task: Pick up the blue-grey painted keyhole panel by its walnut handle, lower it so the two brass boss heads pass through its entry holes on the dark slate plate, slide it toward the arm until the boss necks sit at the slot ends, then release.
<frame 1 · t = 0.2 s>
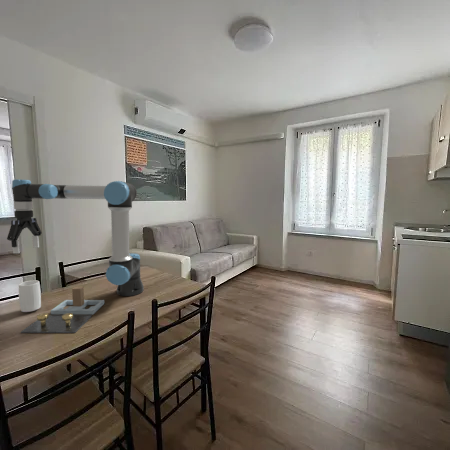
hand: (26, 250, 129), 28 cm above the table, fingers open, 13 cm apart
panel: (78, 308, 124), on the table
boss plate: (58, 324, 109), on the table
cup: (31, 310, 121), on the table
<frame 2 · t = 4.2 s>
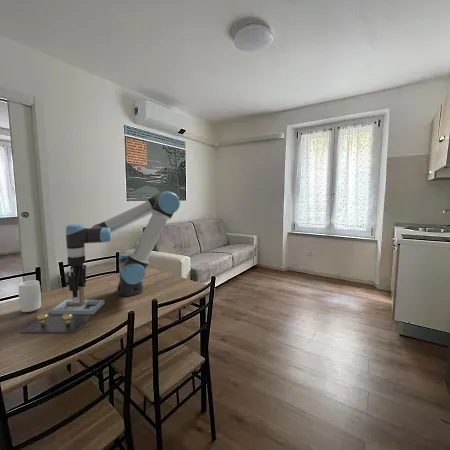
hand: (78, 301, 124), 4 cm above the table, fingers closed on panel, 3 cm apart
panel: (79, 308, 124), on the table, touching gripper
everything else where it was.
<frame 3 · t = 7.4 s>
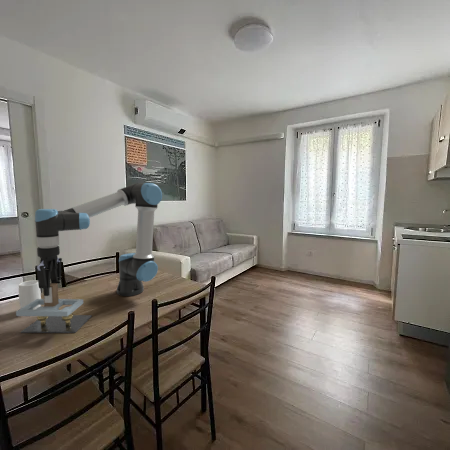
hand: (51, 300, 104), 13 cm above the table, fingers closed on panel, 3 cm apart
panel: (51, 309, 104), point 9 cm above the table, touching gripper
everything else where it was.
when the fingers open (5 cm above the table, at t = 11.0 s): panel stays where it is, resting on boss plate.
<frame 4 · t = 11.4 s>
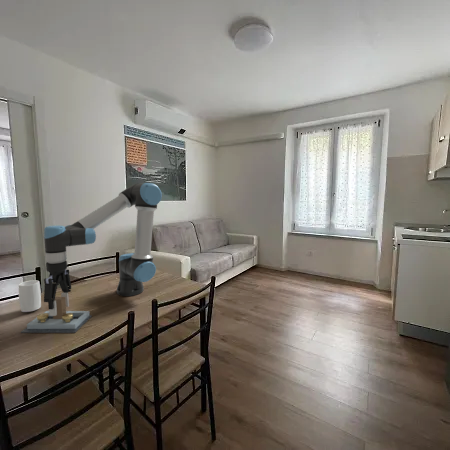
hand: (59, 310, 109), 6 cm above the table, fingers open, 8 cm apart
panel: (60, 321, 110), point 1 cm above the table, touching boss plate
everything else where it was.
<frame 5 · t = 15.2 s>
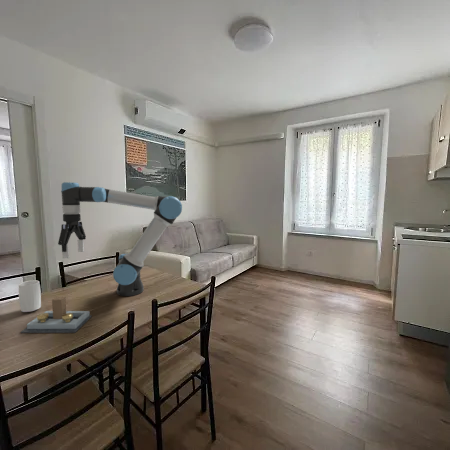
hand: (73, 254, 126), 27 cm above the table, fingers open, 13 cm apart
nothing on the table moved.
at the end: panel 0.1 cm from the target spot, point 0.6 cm above the table; panel tilted 0°; the gripper is holding nothing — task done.
